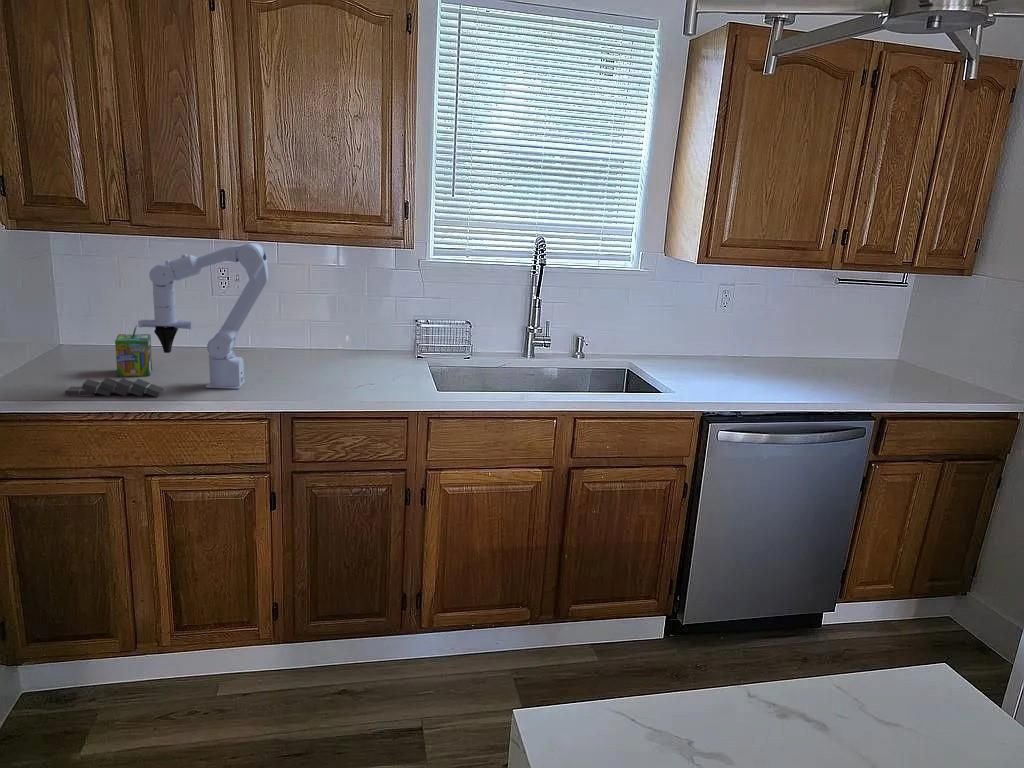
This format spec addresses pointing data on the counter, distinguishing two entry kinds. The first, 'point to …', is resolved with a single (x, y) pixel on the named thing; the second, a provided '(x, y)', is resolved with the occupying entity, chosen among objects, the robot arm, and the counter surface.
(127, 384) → the domino
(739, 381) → the counter surface
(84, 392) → the domino
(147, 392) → the domino
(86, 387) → the domino
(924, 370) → the counter surface
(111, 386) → the domino
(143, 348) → the chalk box
